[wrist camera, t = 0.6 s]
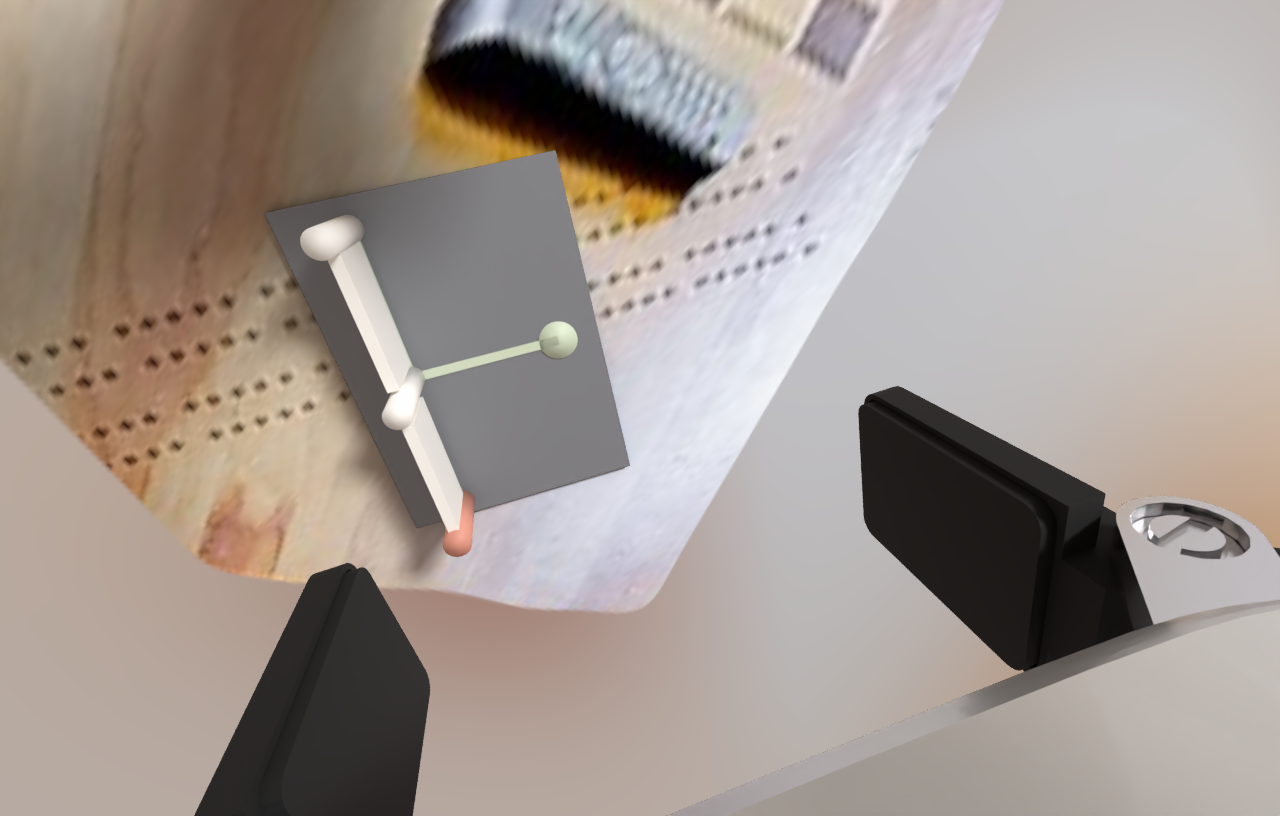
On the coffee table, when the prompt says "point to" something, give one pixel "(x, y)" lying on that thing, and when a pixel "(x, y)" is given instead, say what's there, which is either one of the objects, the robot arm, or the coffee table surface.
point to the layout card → (474, 327)
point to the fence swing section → (441, 481)
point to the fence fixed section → (368, 313)
